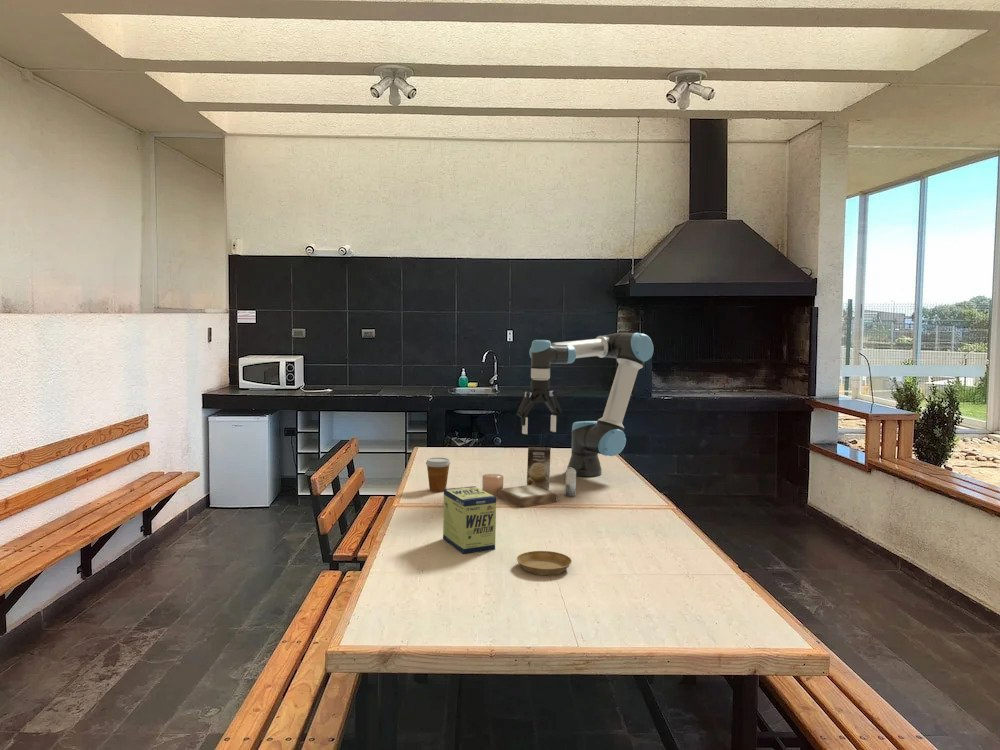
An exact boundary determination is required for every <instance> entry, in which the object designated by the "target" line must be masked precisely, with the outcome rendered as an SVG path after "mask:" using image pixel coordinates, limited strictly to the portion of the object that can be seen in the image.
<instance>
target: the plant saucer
mask: <svg viewBox="0 0 1000 750" xmlns="http://www.w3.org/2000/svg"><path fill="white" fill-rule="evenodd" d="M516 560H517V561H516V562H518V564H519V565H520V567H522V568H523V570H525V571H526V572H528V573H530V574H534V575H539V576H554V575H558V574H561V573H563V572H565V570H567V569H568V568H569V566H570V565H571V564H572V562H573V561H572V559H571V557H569V556H568V555H566V554H564V553H559V552H556V551H548V550H533V551H527V552H524V553H520V554H519V555H517V557H516Z"/></svg>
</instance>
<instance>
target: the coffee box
mask: <svg viewBox="0 0 1000 750" xmlns="http://www.w3.org/2000/svg"><path fill="white" fill-rule="evenodd" d="M526 471H527V472H526V486H527V485H534V486H537V487H540V488H542V489H545V490H548V491H550V480H551V479H550V477H551V476H550V475H551V447H543V446H542V447H541V446H528V450H527V469H526Z"/></svg>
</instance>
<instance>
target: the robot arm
mask: <svg viewBox="0 0 1000 750" xmlns="http://www.w3.org/2000/svg"><path fill="white" fill-rule="evenodd" d="M653 343H654V342H653V341H652V339H651V337H650V336H649V335H647V334H645V333H640V332H617V333H610V334H605V335H597V336H596V338H589V339H579V340H578V339H577V340H568V341H559V342H551V341H550V339H549V340H547V339H535V340H534V339H533V341H532V342H531V347H530V348H529V352H528V353H529V358H531V361H530V363H531V364H530V378H531V379H530V390H531V391H530V392H529V391H524V392H523V397H522V400H521V402H520V404H519V406H518V409H517V411H516V416H518V417H520V426H522V427H521V434H523V435H528V429H529V428H528V426H529V425H528V424H529V422H528V421H529V418H528V415H529V413H530V411H531V410H532V409H533V408H534V406H535V405H536V404H540V403H542V404H545V406H546V407H547V409H548V410H549V411H550V413H551V415H550V428H549V429H550V432H552V433H556V432H557V424H558V419H559V417H558V416H560V414H562V413H563V411H562V408H561V405H560V403H559V401H558V398H557V392H556V391H555V390H550V389H551V388H550V386H551V381H550V378H551V365H553V364H555V365H557V364H558V365H559V364H560V365H561V364H562V365H568V364H572V363H574V362H576V361H575V360H576V359H581V358H590V357H598V358H601V359H602V358H611V359H616V362H617V363H618V365H617V369H616V372H615V375H614V379H613V383H612V384H611V385H612V386H611V388H610V392H609V395H608V398H607V402H606V404H605V405H606V406H605V408H604V412H603V415H602V417H600V418H598V419H597V420H585V421H574V422H573V423H572V427H571V452H570V453H571V454H570V459H569V461H568V465H567V466H566V470H567V469H568V468H570V467H572V468H574V469H575V470H576V477H598V476H600V475H602V467H601V462H600V459H599V455H603V456H605V457H615V456H617V455H619V454H620V453H621V452H622V451H624V448H625V446H626V443H627V438H626V434H625V431H624V430H625V426H624V425H623V423H624V418H625V415H626V412H627V408H628V405H629V402H630V399H631V395H632V391H633V388H634V385H635V382H636V379H637V376H638V373H639V370H640V369H643V368H644V365H645V362H647V361H649V360H650V359H652V357H653V354H654V344H653ZM549 397H550V398H549Z"/></svg>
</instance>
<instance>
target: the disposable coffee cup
mask: <svg viewBox="0 0 1000 750" xmlns="http://www.w3.org/2000/svg"><path fill="white" fill-rule="evenodd" d="M425 464H426V465H425V466H426V467H427V468H426V469H427V470H426V471H427V475H428V477H427V478H428V487H429V491H430V492H434V493H442V492H444V489H447V483H448V476H449V470H450V466H451V465H450V464H451V461H450V459H449V458H448V457H447V458H446V457H430V458H427V459H426V462H425Z"/></svg>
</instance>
